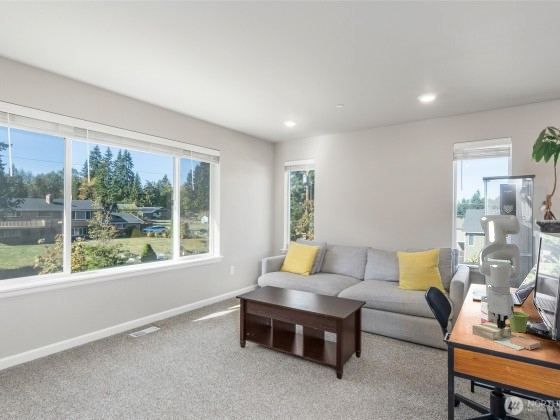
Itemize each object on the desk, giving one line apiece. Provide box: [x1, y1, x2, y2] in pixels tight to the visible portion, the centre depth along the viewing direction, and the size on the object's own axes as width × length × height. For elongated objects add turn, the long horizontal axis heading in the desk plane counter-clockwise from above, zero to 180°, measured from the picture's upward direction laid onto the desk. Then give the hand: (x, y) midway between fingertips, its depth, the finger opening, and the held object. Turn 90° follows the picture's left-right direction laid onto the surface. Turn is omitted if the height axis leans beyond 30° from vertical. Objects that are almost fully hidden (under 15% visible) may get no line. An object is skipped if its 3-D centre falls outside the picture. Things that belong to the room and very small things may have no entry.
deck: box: [471, 322, 513, 342], centre depth 152 cm, size 14×10×4 cm
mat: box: [492, 335, 526, 351], centre depth 142 cm, size 16×10×1 cm, turn 114°
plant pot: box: [508, 310, 530, 333], centre depth 157 cm, size 9×9×9 cm
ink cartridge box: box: [480, 295, 497, 324], centre depth 167 cm, size 9×5×15 cm, turn 102°
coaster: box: [510, 335, 541, 351], centre depth 139 cm, size 8×8×2 cm
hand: (501, 328), depth 148 cm, fingers closed
